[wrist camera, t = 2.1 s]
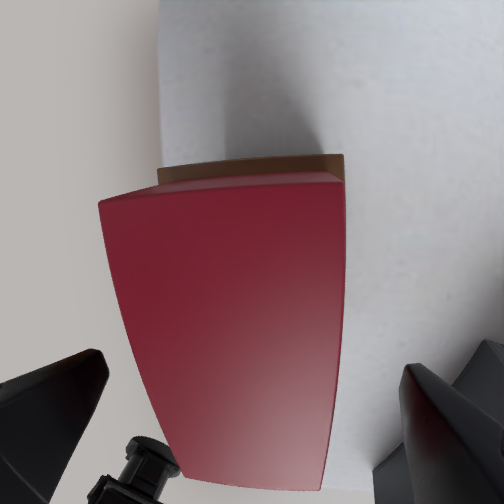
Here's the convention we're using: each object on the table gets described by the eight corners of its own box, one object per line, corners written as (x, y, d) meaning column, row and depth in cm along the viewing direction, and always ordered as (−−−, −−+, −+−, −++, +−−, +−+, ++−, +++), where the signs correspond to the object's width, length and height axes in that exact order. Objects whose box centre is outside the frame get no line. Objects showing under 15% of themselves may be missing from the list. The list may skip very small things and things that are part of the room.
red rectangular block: (322, 415, 12) (320, 491, 8) (211, 410, 13) (184, 478, 9) (328, 170, 9) (345, 181, 5) (171, 181, 10) (96, 201, 6)
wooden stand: (327, 322, 20) (332, 422, 12) (240, 322, 21) (202, 415, 13) (324, 155, 17) (344, 153, 8) (224, 161, 18) (156, 168, 10)
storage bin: (372, 471, 25) (376, 534, 17) (483, 338, 18) (530, 407, 10) (478, 471, 24) (491, 516, 16) (569, 365, 17) (601, 408, 9)
